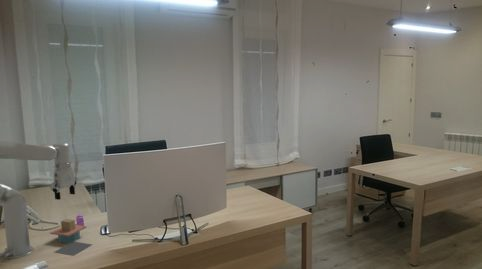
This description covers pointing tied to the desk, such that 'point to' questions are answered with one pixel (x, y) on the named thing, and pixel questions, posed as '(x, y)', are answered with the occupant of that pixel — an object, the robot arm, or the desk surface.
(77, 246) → the mat
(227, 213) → the desk surface
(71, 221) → the lid
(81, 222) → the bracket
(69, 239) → the bowl
